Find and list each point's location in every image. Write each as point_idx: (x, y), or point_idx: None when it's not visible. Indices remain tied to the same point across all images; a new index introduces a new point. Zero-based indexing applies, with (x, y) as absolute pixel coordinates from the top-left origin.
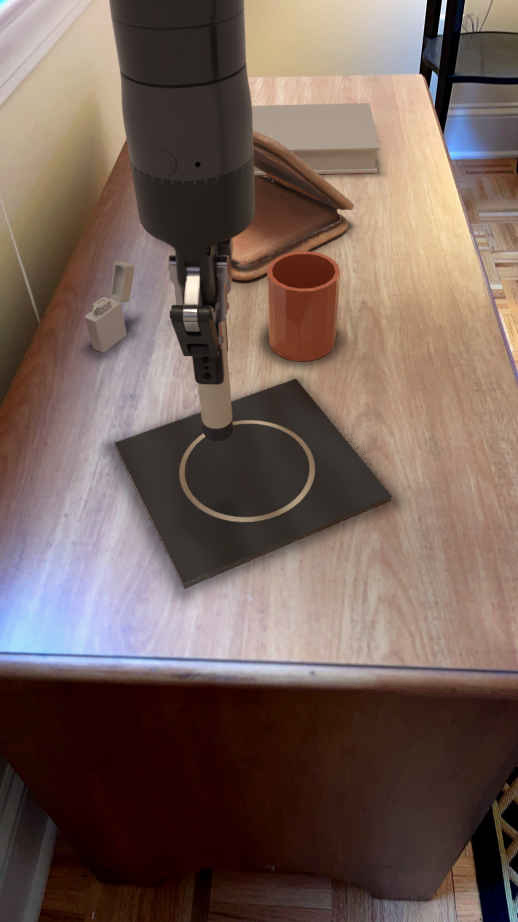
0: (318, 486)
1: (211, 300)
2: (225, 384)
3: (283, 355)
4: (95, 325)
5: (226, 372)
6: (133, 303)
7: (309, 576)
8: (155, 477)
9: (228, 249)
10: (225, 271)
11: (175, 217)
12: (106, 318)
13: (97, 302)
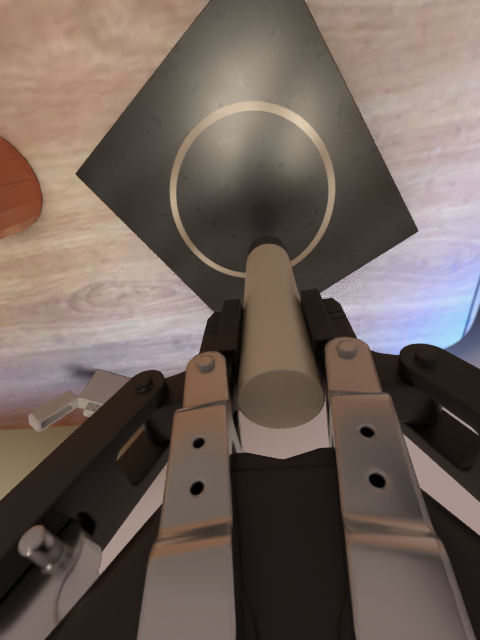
0: (267, 89)
1: (424, 491)
2: (284, 278)
3: (39, 203)
4: None
5: (282, 287)
6: (52, 376)
7: (413, 71)
8: None
9: (237, 631)
10: (471, 628)
11: None
12: (104, 400)
13: None
